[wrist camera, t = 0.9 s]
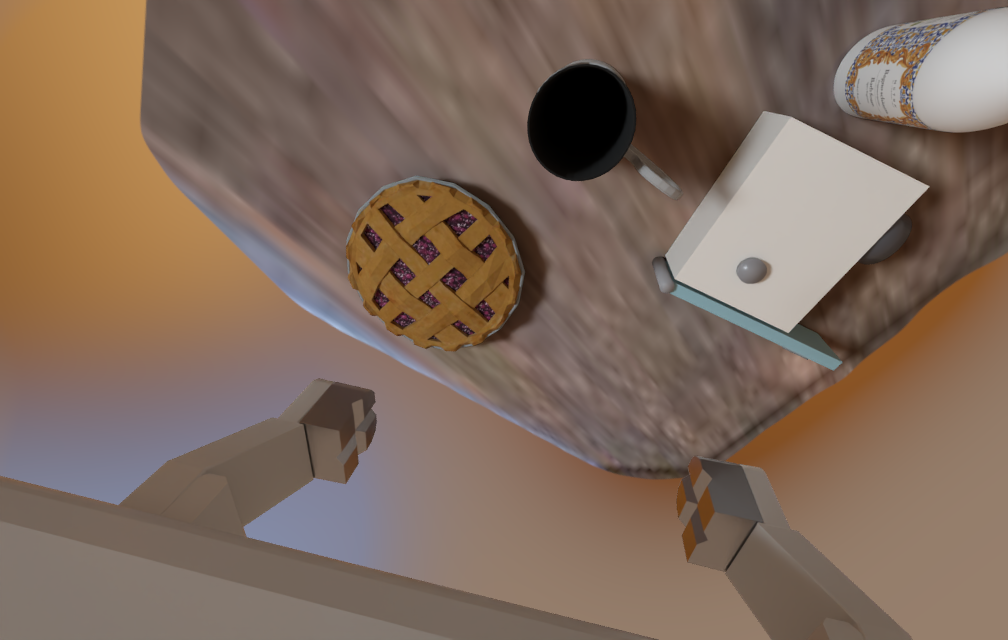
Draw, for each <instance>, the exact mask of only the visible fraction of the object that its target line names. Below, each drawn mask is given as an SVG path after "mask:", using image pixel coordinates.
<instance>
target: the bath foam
mask: <svg viewBox="0 0 1008 640" xmlns="http://www.w3.org/2000/svg"><path fill="white" fill-rule="evenodd" d="M834 96H835V99H836V102H837V104H838V105H839V107H840V108H841V109H842V110H843V111H844V112H846V113H847V114H849V115H852V116H855V117H859V118H864V119H869V120H875V121H881V122H887V123H893V124H899V125H905V126H911V127H917V128H923V129H929V130H935V131H941V132H972V131H979V130H985V129H989V128H993V127H997V126H1000V125H1003V124H1006V123H1008V7H1001V8H995V9H989V10H983V11H977V12H970V13H964V14H958V15H952V16H946V17H940V18H934V19H928V20H921V21H915V22H909V23H904V24H898V25H893V26H888V27H885V28H882V29H879V30H877V31H875V32H873V33H871V34H869V35H868V36H866V37H864V38H863V39H862V40H860V41H859V42H858V43H857V44H856V45H855V46H854V47H853V48H852V49H851V50H850V51H849V52H848V53H847V55H846V56H845V57H844V59H843V60H842V62H841V64H840V66H839V68H838V70H837V73H836V76H835V80H834Z"/></svg>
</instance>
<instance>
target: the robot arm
mask: <svg viewBox="0 0 1008 640" xmlns="http://www.w3.org/2000/svg"><path fill="white" fill-rule="evenodd" d="M374 403H375V395H374V392H373V391H372V390H369V389H365V388H360V387H356V386H352V385H347V384H343V383H339V382H332V381H328V380H324V379H320V378H319V379H316V380H314V381H312V382H311V383H310V385H309V386H308V387H307V388H306V389H305V390H304V391H303V392H302V393H301V394H300V395H299V396H298V397H297V399H296V400H295V401H294V402H293V403H292V404H291V405H290V406H289V407H288V408H287V409H286V410H285V411H284V412H283V414H282V415H281V416H280V417H279V418H278V419H277V418H270V419H268V420H265V421H263V422H261V423H258V424H256V425H253V426H251V427H248V428H246V429H244V430H241V431H239V432H237V433H234V434H232V435H229V436H227V437H224V438H222V439H220V440H217V441H215V442H212V443H210V444H208V445H205V446H203V447H200V448H198V449H196V450H193V451H191V452H189V453H186V454H184V455H182V456H179V457H177V458H174V459H172V460H169V461H167V462H166V463H165V464H164V465H163V466H162V467H160V468H159V469H158V470H157V471H156V472H155V473H154V474H153V475H151V477H149V478H148V479H147V480H146V481H145V482H144V483H143V484H141V485H140V486H139V487H138V488H137V489H136V490H135V491H134V492H132V493H131V494H130V495H129V496H128V497H127V498H126V499H125V500H123V501H122V502H121V503H120V504H119V505H115V504H111V503H107V502H103V501H99V500H95V499H91V498H87V497H83V496H79V495H75V494H71V493H67V492H62V491H59V490H55V489H51V488H46V487H43V486H39V485H35V484H31V483H27V482H23V481H18V480H14V479H11V478H7V477H3V476H0V640H658V639H654V638H650V637H645V636H642V635H638V634H634V633H629V632H626V631H622V630H618V629H613V628H609V627H605V626H601V625H597V624H593V623H589V622H585V621H581V620H577V619H573V618H569V617H565V616H561V615H557V614H552V613H549V612H545V611H541V610H537V609H533V608H529V607H525V606H521V605H517V604H512V603H509V602H505V601H500V600H497V599H493V598H488V597H485V596H480V595H476V594H472V593H468V592H464V591H460V590H456V589H452V588H448V587H444V586H440V585H436V584H432V583H428V582H424V581H420V580H416V579H412V578H408V577H404V576H400V575H396V574H392V573H388V572H384V571H380V570H376V569H372V568H368V567H364V566H360V565H356V564H352V563H348V562H344V561H339V560H336V559H332V558H328V557H324V556H319V555H316V554H312V553H308V552H304V551H300V550H295V549H292V548H288V547H283V546H280V545H276V544H272V543H268V542H264V541H259V540H255V539H252V538H247V537H246V534H245V531H244V528H243V527H244V526H245V525H247V524H248V523H250V522H251V521H253V520H254V519H256V518H257V517H259V516H260V515H262V514H263V513H265V512H266V511H268V510H269V509H270V508H272V507H273V506H275V505H276V504H278V503H279V502H281V501H282V500H284V499H285V498H287V497H288V496H290V495H291V494H293V493H294V492H296V491H297V490H299V489H300V488H301V487H303V486H305V485H306V484H308V483H309V482H311V481H312V480H313V478H318V479H323V480H328V481H333V482H338V483H343V484H346V483H347V481H348V480H349V478H350V477H351V475H352V473H353V472H354V470H355V468H356V467H357V465H358V455H359V454H360V453H362V452H364V451H366V450H367V449H368V447H369V445H370V443H371V442H372V439H373V436H374V433H375V431H376V423H377V420H376V414H375V413H374V411H373V410H372V409H371V408H372V406H373V405H374ZM688 470H689V474H690V475H688V476H687V477H685V478H683V479H682V480H681V482H680V485H679V487H678V492H677V499H676V504H677V513H678V518H679V520H680V521H681V522H682V523H683V524H684V525H685V527H686V528H685V530H684V532H683V534H682V539H683V544H684V549H685V553H686V559H687V562H688V563H692V564H696V565H700V566H704V567H708V568H712V569H716V570H720V571H723V572H726V573H725V574H726V576H727V577H728V579H729V580H730V582H731V583H732V584H733V586H734V587H735V588H736V590H737V591H738V593H739V594H740V596H741V597H742V599H743V600H744V601H745V603H746V604H747V606H748V607H749V608H750V610H751V611H752V613H753V614H754V615H755V617H756V618H757V620H758V621H759V622H760V624H761V625H762V627H763V628H764V629H765V631H766V632H767V634H768V635H769V637H770V638H771V639H772V640H912V638H911V636H910V635H909V634H908V633H907V632H906V631H905V630H904V629H903V628H901V627H900V626H899V625H898V624H897V623H896V622H895V621H894V620H893V619H892V618H891V617H890V616H889V615H888V614H886V613H885V612H884V611H883V610H882V609H881V608H880V607H879V606H878V605H877V604H876V603H875V602H874V601H872V600H871V599H870V598H869V597H868V596H867V595H866V594H865V593H864V592H863V591H862V590H861V589H859V588H858V587H857V586H856V585H855V584H854V583H853V582H852V581H851V580H850V579H849V578H848V577H847V576H846V575H844V574H843V573H842V572H841V571H840V570H839V569H838V568H837V567H836V566H835V565H834V564H833V563H831V562H830V561H829V560H828V559H827V558H826V557H825V556H824V555H823V554H822V553H821V552H820V551H819V550H818V549H817V548H815V547H814V546H813V545H812V544H811V543H810V542H809V541H808V540H807V539H806V538H805V537H804V536H803V535H801V534H800V533H799V532H798V531H795V530H791V529H790V527H789V524H788V522H787V520H786V518H785V515H784V513H783V511H782V509H781V506H780V505H779V502H778V500H777V498H776V495H775V493H774V491H773V489H772V486H771V484H770V482H769V480H768V478H767V475H766V473H765V472H764V471H763V470H762V469H761V468H757V467H752V466H747V465H742V464H735V463H730V462H725V461H720V460H715V459H710V458H705V457H700V456H694V457H693V458H692V459H691V461H690V463H689V465H688Z"/></svg>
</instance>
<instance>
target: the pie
mask: <svg viewBox="0 0 1008 640" xmlns="http://www.w3.org/2000/svg"><path fill="white" fill-rule="evenodd" d="M346 258H347V262H348V274H349V275H348V279H349V281H350V283H351V285H352V288H353V289H356V290H357V292H358V294H359V296H360V298H361V300H362V301H363V306H364V308H365V309H366V310H367V311H368V312H369V313H370V315H372V316H377V317H378V318H379V319H380V320H381V321H382V322H383V323H384V324H385V325H386V328H387V330H389V331H390V332H392V333H393V334H395V335H396V336H401V335H402V336H404V337H406V338H407V339H409V340H411V341H412V342H414V345H417V346H420V347H422V348H425V349H427V348H429V347H434V348H438V349H443V350H445V351H457V350H458V349H459V348H461V347H467V346H472V345H473V346H475V345H477V344H479V343H481V342H483V341H484V340H485V339H486V338H487V337H489V336H490V335H492V334H494V333H495V332H497V331H498V330H500V329H501V328H502V327H503V325H504V324H505V323H506V321H507V320H508V318H509V317H510V316H511V314H512V313H513V311H514V310H515V309H516V307H517V306H518V305H519V301H520V296H521V291H522V286H523V280H524V275H525V270H524V267H523V264H522V260H521V257H520V254H519V251H518V247H517V244H516V241H515V238H514V236H513V235H512V234H511V232H510V231H509V230H508V229H507V227H506V226H505V225H504V224H503V222H502V221H501V220H500V219H499V217H498V216H497V215H496V214H495V212H494V211H493V210H492V208H491V207H490V206H489V205H487V204H486V203H484V202H483V201H481V200H480V199H478V198H477V197H475V196H473V195H472V194H470V193H469V192H467V191H466V190H464V189H463V188H461V187H460V186H458V185H456V184H455V183H451V182H446V181H441V180H436V179H431V178H426V177H421V176H414V177H411V178H407V179H404V180H401V181H398V182H395V183H392V184H388V185H385V186H383V187H382V188H381V189H379V190H378V191H377V192H376V193H375V194H374V195H373V196H372V197H371V198H370V199H369V200H368V201H367V202H366V203H365V204H364V205H363V206H362V207H361V208H360V209H359V210H358V213H357V215H356V218H355V220H354V223H353V224H352V228H351V230H350V233H349V235H348V238H347V246H346Z"/></svg>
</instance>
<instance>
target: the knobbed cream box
mask: <svg viewBox="0 0 1008 640" xmlns="http://www.w3.org/2000/svg"><path fill="white" fill-rule="evenodd" d="M928 188H929V186H927V185H925V184H923V183H921V182H919V181H917V180H915V179H913V178H911V177H909V176H907V175H905V174H903V173H902V172H900V171H898V170H896V169H894V168H892V167H890V166H888V165H886V164H884V163H882V162H880V161H878V160H876V159H874V158H872V157H870V156H868V155H866V154H864V153H862V152H860V151H858V150H856V149H854V148H852V147H850V146H848V145H846V144H844V143H842V142H840V141H838V140H836V139H834V138H832V137H830V136H828V135H826V134H824V133H822V132H820V131H818V130H816V129H814V128H812V127H810V126H808V125H806V124H804V123H802V122H800V121H798V120H796V119H794V118H792V117H789V116H785V115H780V114H775V113H771V112H766V111H763V113H762V114H761V116H760V117H759V119H758V120H757V122H756V123H755V124H754V126H753V127H752V129H751V130H750V132H749V133H748V135H747V136H746V138H745V139H744V141H743V142H742V144H741V145H740V146H739V148H738V149H737V151H736V152H735V154H734V155H733V157H732V158H731V160H730V161H729V163H728V164H727V166H726V167H725V168H724V170H723V171H722V173H721V174H720V176H719V177H718V179H717V180H716V182H715V183H714V185H713V186H712V188H711V189H710V190H709V192H708V193H707V195H706V196H705V198H704V199H703V201H702V202H701V204H700V205H699V207H698V208H697V210H696V211H695V213H694V214H693V215H692V217H691V218H690V220H689V221H688V223H687V224H686V226H685V227H684V229H683V230H682V232H681V233H680V235H679V236H678V237H677V239H676V240H675V242H674V243H673V245H672V246H671V248H670V249H669V251H668V252H667V254H666V255H665V256H666V259H667V261H668V264H669V266H670V269H671V271H672V274H673V276H674V279H676V280H678V281H680V282H682V283H684V284H686V285H688V286H690V287H693V288H695V289H697V290H699V291H701V292H703V293H705V294H707V295H709V296H712V297H714V298H716V299H718V300H720V301H722V302H724V303H726V304H728V305H731V306H733V307H735V308H737V309H739V310H741V311H743V312H745V313H747V314H749V315H752V316H754V317H756V318H758V319H760V320H762V321H764V322H766V323H768V324H771V325H773V326H775V327H777V328H779V329H781V330H783V331H785V332H787V333H789V332H790V331H791V330H792V329H793V328H794V327H795V326H796V325H797V324H798V322H799V321H800V320H801V319H802V318H803V317H804V316H805V315H806V314H807V313H808V312H809V311H810V310H811V309H812V308H813V307H814V306H815V305H816V304H817V303H818V302H819V301H820V300H821V299H822V298H823V297H824V296H825V295H826V293H827V292H828V291H829V290H830V289H831V288H832V287H833V286H834V285H835V284H836V283H837V282H838V281H839V280H840V279H841V278H842V277H843V276H844V275H845V274H846V273H847V272H848V271H849V270H850V269H851V268H852V267H853V266H854V265H855V263H856V262H857V261H858V262H860V263H862V264H875V263H878V262H881V261H883V260H885V259H886V258H888V257H890V256H891V255H892V254H894V253H895V252H896V251H897V250H898V249H899V248H900V247H901V246H902V245H903V244H904V242H905V241H906V240H907V238H908V236H909V234H910V232H911V228H912V222H911V219H910V217H909V216H907V215H905V214H904V213H905V212H906V211H907V210H908V209H909V208H910V207H911V205H912V204H913V203H914V202H915V201H916V200H917V199H918V198H919V197H920V196H921V195H922V194H923V193H924V192H925V191H926V190H927V189H928Z"/></svg>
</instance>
